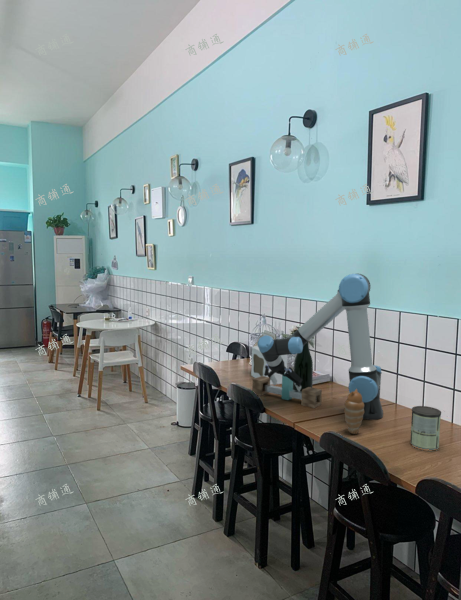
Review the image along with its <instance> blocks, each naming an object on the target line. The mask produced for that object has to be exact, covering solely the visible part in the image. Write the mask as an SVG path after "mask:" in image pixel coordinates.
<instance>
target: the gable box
mask: <svg viewBox="0 0 461 600" xmlns="http://www.w3.org/2000/svg"><path fill="white" fill-rule="evenodd" d="M266 335H267V336H270V337H272V339H273V340H274V339H277V334H276V333H274V332H270V331H268V330H266V329H265V330H264V331H262V332H261V335H260V337H259V338H258V339H257V341H256V342H255V344H254V345H253V346H252V347H251V370H250V372H251V374H250V376H251V377H253V379H254V378H257V377H260V376H265V375H264V374H265V369H266V368H265V366H266V364H267V363H266V361H265V359H264V357H263V355H262V353H261V352H260V350H259V347H258V340H259V339H260V338H261V337H263V336H266ZM288 356H289V355H281V357H282V359H283V361H284V366H285V367H286V368H287V369H288V358H289V357H288ZM270 371H271V370H270V368H269V373H270ZM285 373H286V372H285ZM274 376H275V377H276V379H277V383H276V385H282V375H281V374H277V373H274ZM265 377H268V376H265ZM270 385H274V384H273V382H272V381H271V380H270Z"/></svg>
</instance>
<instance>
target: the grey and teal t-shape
mask: <svg viewBox="0 0 461 600" xmlns="http://www.w3.org/2000/svg"><path fill="white" fill-rule="evenodd" d="M284 374H285V373H284ZM264 391H265V392H270V393H269V394H275V395H278V396H279V395H280V396H281V398H280V399H282V400H285V401H290V400H292V399H297V400H301V401H302V392H301V391H296V390H293V381H292V380H290V379H289V378H287V377H286V376H285V377H284V376H283V375H282V384H281V386H276V385H274V384H272V385H265V390H264ZM316 401H317V396H316Z"/></svg>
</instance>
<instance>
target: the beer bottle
mask: <svg viewBox="0 0 461 600" xmlns="http://www.w3.org/2000/svg"><path fill="white" fill-rule="evenodd" d="M309 347H310V346H309V341H308V342H307V343H306V344H305V345H304V346H303V350H302V352H301V353H298V354H295V357H294V361H293V368H292V370H293V371H294V372H295V373H296V374H297V375H298V376H299V377H300V378H302V382H301V389H300V391H301V392H302V390H303V389H305V388H307V387H312V388H313V381H314V380H313V379H314V375H313V374H314V364H313V362H314V361H313V357H312V354H311V351H310V348H309ZM293 390H296V391H298V390H297V388H296V386H295V384H294V382H293Z"/></svg>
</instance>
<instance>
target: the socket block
mask: <svg viewBox="0 0 461 600" xmlns="http://www.w3.org/2000/svg"><path fill="white" fill-rule="evenodd" d="M265 385H270V378H269V377H265V376H260V377H257V378H254V377H253V378H252V385H251V386H252V387H251V388H252V389H251V390H252V391H254V392H255V393H256V394H257V395H258V396H257V395H256V396H257V397H261V396H264V395H267V394H271V393H270V392H265V391H264V390H265ZM252 391H251V392H252Z"/></svg>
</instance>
